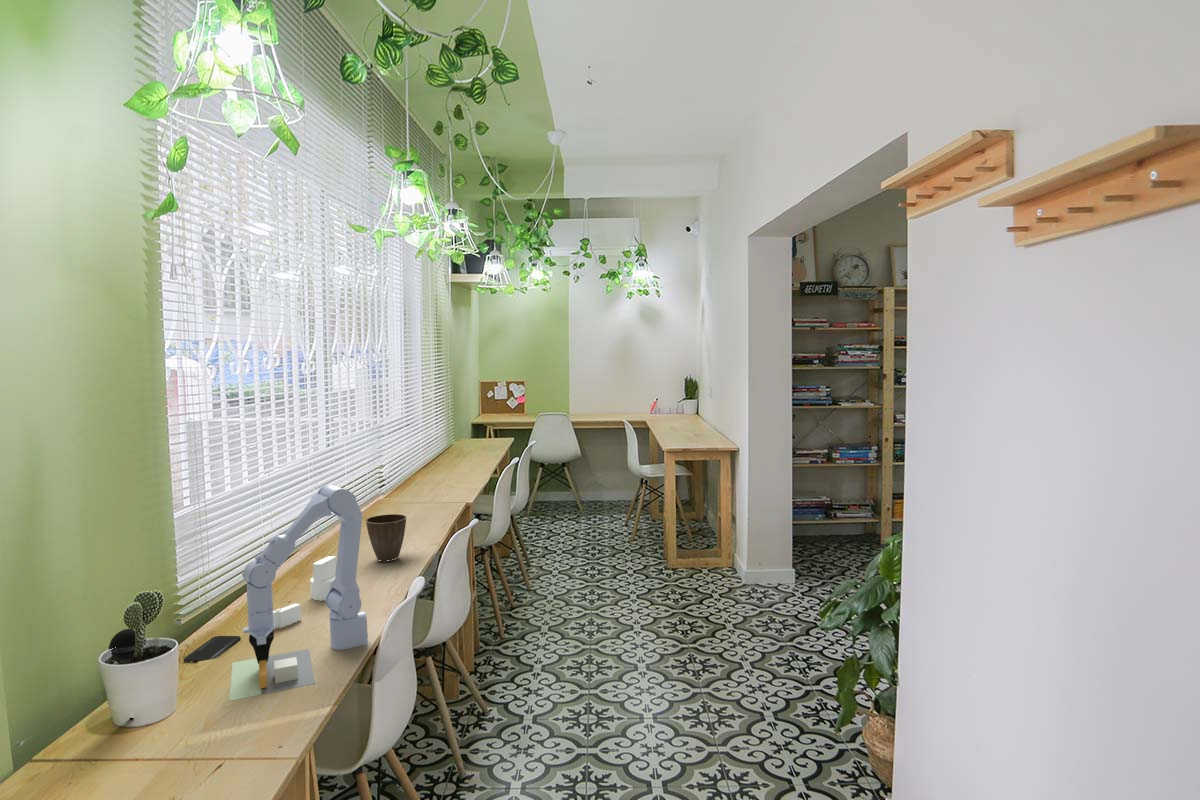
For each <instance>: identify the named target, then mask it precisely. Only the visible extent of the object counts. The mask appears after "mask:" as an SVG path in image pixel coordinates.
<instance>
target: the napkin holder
mask: <svg viewBox="0 0 1200 800" xmlns="http://www.w3.org/2000/svg"><path fill="white" fill-rule="evenodd" d="M301 609H302V607H301V604H300V603H296V602H295V603H292V604H290V605H287V606H285V607H282V608H277V609H275V610H274V609H273V617H274V624H275V628H274V630H277V629H283V628H282V627H284V628H286V627H288V626H287V625H289V626H291V625H292V624H291V623H294V622H296V623H298V622H297V621H299V620H301V621H302V610H301ZM299 622H300V621H299ZM290 624H291V625H290ZM294 624H295V623H294ZM285 626H286V627H285ZM278 627H279V628H278ZM276 628H277V629H276Z"/></svg>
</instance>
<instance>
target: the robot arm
mask: <svg viewBox="0 0 1200 800" xmlns="http://www.w3.org/2000/svg"><path fill="white" fill-rule="evenodd" d="M332 515H334V516H336V517H337V518H338V519H339V520H340V527H339V537H338V546H337V547H338V548H337V556H336V574H335V579H334V580H333V582H332V583H331V586H330V590H329V592H328V594H327V596H326V601H325V605H326V606H327V608H328V609H329V610H330V613H329V633H330V635H329V636H330V637H329V638H330V648H331V649H333V650H338V651H340V650H341V651H342V650H348V649H352V648H355V647H360V646H366V648H367V649H368V648H369V644H368V643H369V641H368V640H369V639H368V638H369V633H368V620H367V614H366V612H365V611H360V610H361V608H362V599H361V597H360V588H359V585H358V582H357V571H358V562H359V561H358V560H359V553H360V543H361V534H362V521H363V512H362V510H361V508H360V506H359V503H358V502H357V496H356V495H355V494H354V493H352V492H351V491H350V490H348V489H345V488H343V487H339V486H336V485H335V484H325V485H322V487H320V488H319V489H318V491H317V493H315V494H314V495H312V496H311V498H310V500H309V502H308V503H307V504H306V506H305V507H304V509H302V511H301V512H300V514H299V515H298V516H297V517H296V518H295V520H294V521H293V522H292V523H291V525H290V526H289V527H288V528H287V530H286V531H285V532H284V533H283V534H278V535H276V536H275V537H270V539H269V540H268V541H267V542H268V545H267V546H266V547H265V548H264V549H263V550H262V551H261V553H260V554H259V555H256V556H255V557H254V559H255V560H254V559H253V561H250V562H249V563H247V564H246V565H245V568H244V571H243V572H242V573H241V574H242V577H243V579H244V580H245V582H246V591H247V592H246V601H247V603H246V604H247V606H246V607H247V621H248V622H247V625H248V626H247V627H243V628H242V629H243V630H242V631H243V632H242V633H243V634H249V635H248V641H249V644H250V645H251V646H252V648H253V651H254V654H255V659H257V662H258V664H259V661H262V660H266V663H267V662H268V657H269V656H270V648H271V645H272V643H273V640H274V638H275V629H274V628H275V624H274V617H273V610H274V601H273V599H274V598H273V585H272V584H273V582H274V581H275V578H276V573H277V571H278V570H279V568H280V567H281V566H282V565H283V564H284V563H285V562H286V560H287V559H288V558H289V557H290V556H291V555H292V554H293V552H294V551H295V550H296V542H297V541H298V539H300V538H301V537H302V535H303V534H304V533H306V532H307V531H308V529H309V528H310V527H311V526H313V524H314V523H315V522H316V521H317V520H318V519H320V518H324V517H329V516H332ZM273 629H274V630H273Z"/></svg>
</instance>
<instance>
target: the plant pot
mask: <svg viewBox="0 0 1200 800" xmlns="http://www.w3.org/2000/svg"><path fill="white" fill-rule="evenodd" d="M365 523H366V529H367V534H368V537H369V540H370V544H371V548H372V550H373V552H374V554H375V555H374V556H376V559H377V561H378V560H381V561H387V560H392V559H395V558H397V557H398V558H399V556H400V552H401V550H402V546H403V542H404V537H405V533H406V532H405V531H406V523H407V516H406V515H404V514H397V513H396V514H394V513H393V514H391V513H389V514H388V513H387V514H381V515H375V516H370V517H369V518H366V520H365Z"/></svg>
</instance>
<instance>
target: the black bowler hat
mask: <svg viewBox="0 0 1200 800" xmlns="http://www.w3.org/2000/svg"><path fill="white" fill-rule="evenodd" d="M133 629H134V628H125V629H122V630H119V631H118V632H117V633H116V634H114V636H113V637H112V638H111V639H110V642H109V645H108V648H107V649H108V651H109V650H110V649H112V648H113V649H112V650H111V652H112V653H110V654H111V656H112V657H113V658H114V659H116V660H118V661H119V660H120V661H119V664H120V663H125V662H130V661H131V658H133V655H134V652H135V631H134V630H133ZM144 642H145V643H144V645H145V646H146V644H147V639H146V637H145V640H144ZM115 647H116V648H115Z"/></svg>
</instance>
